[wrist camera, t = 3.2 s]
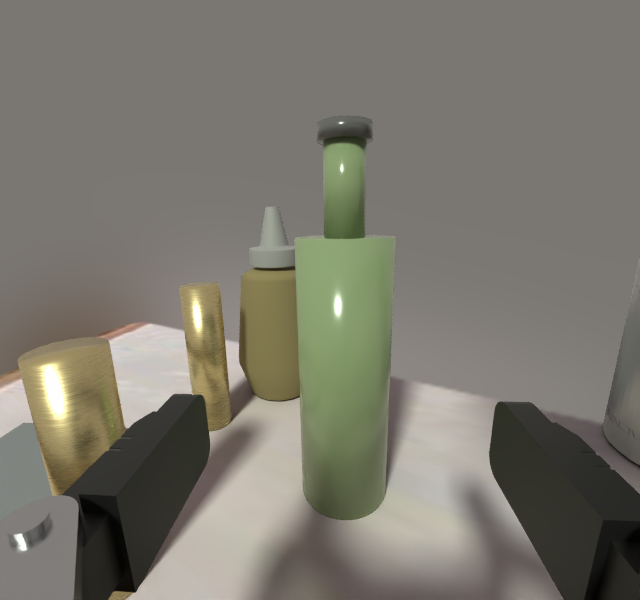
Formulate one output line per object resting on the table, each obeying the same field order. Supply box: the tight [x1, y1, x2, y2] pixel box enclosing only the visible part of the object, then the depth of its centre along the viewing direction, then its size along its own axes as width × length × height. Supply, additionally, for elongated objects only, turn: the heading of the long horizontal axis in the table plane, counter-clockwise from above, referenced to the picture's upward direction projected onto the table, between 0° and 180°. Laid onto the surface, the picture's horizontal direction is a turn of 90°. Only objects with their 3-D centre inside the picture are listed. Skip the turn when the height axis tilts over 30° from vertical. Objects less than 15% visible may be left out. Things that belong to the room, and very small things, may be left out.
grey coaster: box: [0, 423, 126, 520], centre depth 24 cm, size 9×9×1 cm
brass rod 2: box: [179, 282, 232, 431], centre depth 28 cm, size 3×3×12 cm
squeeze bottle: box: [239, 207, 300, 401], centre depth 32 cm, size 8×8×18 cm
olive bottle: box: [295, 116, 396, 520], centre depth 19 cm, size 5×5×22 cm
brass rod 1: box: [18, 337, 144, 600], centre depth 15 cm, size 3×3×12 cm
